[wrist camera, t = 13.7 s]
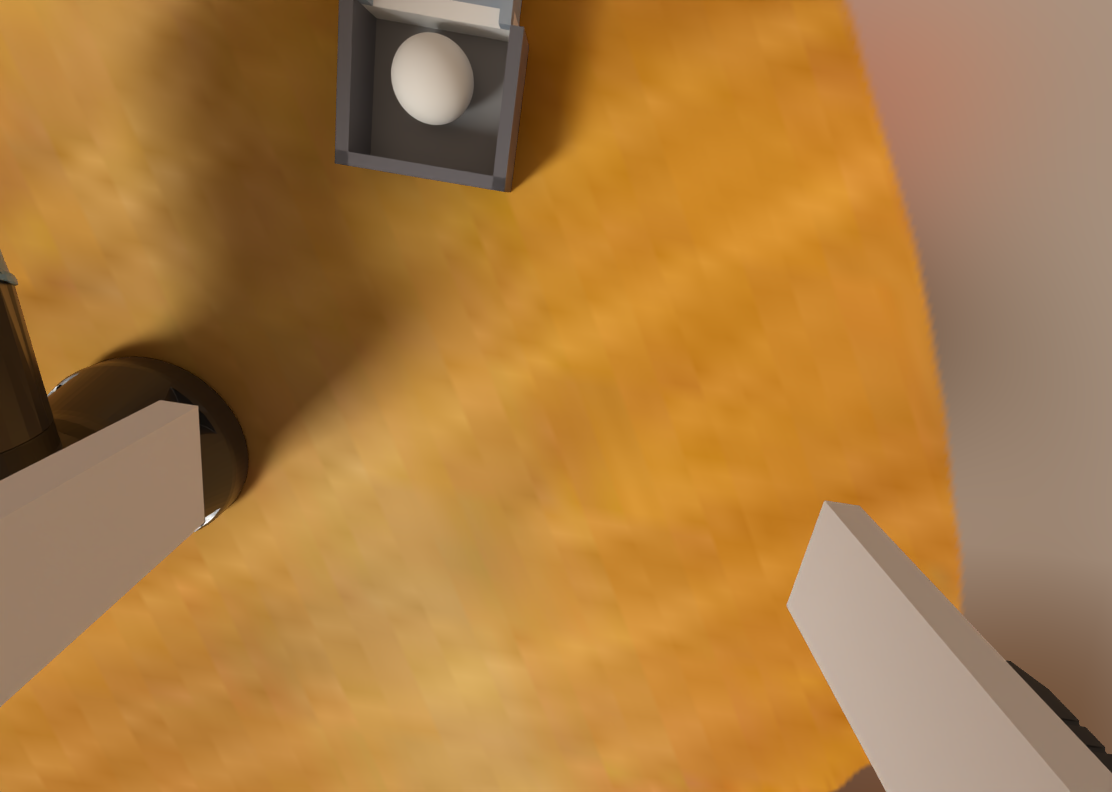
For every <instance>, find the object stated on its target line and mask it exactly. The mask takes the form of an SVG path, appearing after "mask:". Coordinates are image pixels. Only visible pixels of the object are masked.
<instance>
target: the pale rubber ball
mask: <svg viewBox="0 0 1112 792" xmlns="http://www.w3.org/2000/svg"><path fill="white" fill-rule="evenodd" d="M391 81H392V86H393V90H394V93H395V95H396V97H397V99H398V101H399V103H400V104H401V106H402V107H403V108H404V109H405V110H406V112H407V113H409V114H410V115H411V116H412V117H414V118H415V119H417V120H419V121H421V122H423V123H426V124H431V125H443V124H447V123H450V122H452V121H454V120H456V119H457V118H458V117H460V116H461V115H462V114H463V113H464V112H465V110H466V109H467V107H468V105H469V104H470V101H471V99H472V95H473V90H474V77H473V71H472V68H471V65H470V62H469V60H468V58H467V56H466V55H465V53H464V52H463V50H462V49H461V48H460V47H459V46H458V45H457V44H456V43H455V42H454V41H452V40H451V39H449V38H448V37H446V36H444V35H441V34H438V33H432V32H424V33H419V34H416V35H413V36H411V37H410V38H408V39H407V40H406V41H404V42H403V43H402V44H401V46H400V47H399V48H398V50H397V52H396V54H395V56H394V58H393V62H392V67H391Z"/></svg>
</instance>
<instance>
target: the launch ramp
mask: <svg viewBox="0 0 1112 792" xmlns="http://www.w3.org/2000/svg"><path fill="white" fill-rule="evenodd" d="M358 1H359V2H360V3H361V4H362V5H363V6H364V7H365V8H366V9H367V10H368V11H369V12H370V13H371V14H373V15H374V16H375V17H376V18H378V19H383V20H389V21H395V22H400V23H406V24H411V25H417V26H423V27H428V28H434V29H440V30H445V31H451V32H456V33H462V34H468V35H473V36H479V37H485V38H490V39H496V40H501V41H507V42H508V41H509V32H510V25H515V26H519V21H520V13H521V4H522V0H358Z"/></svg>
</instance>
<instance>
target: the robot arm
mask: <svg viewBox="0 0 1112 792" xmlns="http://www.w3.org/2000/svg"><path fill="white" fill-rule="evenodd" d="M16 285H18V282H17V279H16V278H15V276H14V275H13V274H11V273H10V272H9V270H8V268H7V265H6V263H5V261H4V258H3V255H2V253H1V250H0V707H1V706H2V705H3V704H4V703H5V702H6V701H7V700H8V699H9V698H11V697H12V696H13V695H14V694H15V693H16V692H17V691H18V690H19V689H21V688H22V687H23V686H24V685H25V684H26V683H27V682H28V681H29V680H31V679H32V678H33V677H34V676H35V675H36V674H37V673H38V672H39V671H40V670H42V669H43V668H44V667H45V666H46V665H47V664H48V663H49V662H50V661H52V660H53V659H54V658H55V657H56V656H57V655H58V654H59V653H60V652H61V651H63V650H64V649H65V648H66V647H67V646H68V645H69V644H70V643H71V642H73V641H74V640H75V639H76V638H77V637H78V636H79V635H80V634H81V633H83V632H84V631H85V630H86V629H87V628H88V627H89V626H90V625H91V624H92V623H94V622H95V621H96V620H97V619H98V618H99V617H100V616H101V615H102V614H104V613H105V612H106V611H107V610H108V609H109V608H110V607H111V606H112V605H114V604H115V603H116V602H117V601H118V600H119V599H120V598H121V597H122V596H123V595H125V594H126V593H127V592H128V591H129V590H130V589H131V588H132V587H133V586H135V585H136V584H137V583H138V582H139V581H140V580H141V579H142V578H143V577H144V576H146V575H147V574H148V573H149V572H150V571H151V570H152V569H153V568H154V567H156V566H157V565H158V564H159V563H160V562H161V561H162V560H163V559H164V558H166V557H167V556H168V555H169V554H170V553H171V552H172V551H173V550H174V549H175V548H177V547H178V546H179V545H180V544H181V543H182V542H183V541H184V540H185V539H187V538H188V537H189V536H190V535H191V534H192V533H193V532H196V531H198V530H200V529H202V528H203V527H205V526H206V525H208V524H210V523H211V522H212V521H214V520H215V519H216V518H217V517H218V516H219V515H220V514H221V513H222V512H224V511H225V510H226V509H227V508H228V507H229V506H230V505H231V504H232V503H233V502H234V501H235V499H236V498H237V497H238V495H239V493H240V492H241V490H242V488H243V485H244V483H245V479H246V476H247V470H248V452H247V446H246V441H245V438H244V435H243V432H242V430H241V427H240V425H239V423H238V421H237V419H236V417H235V416H234V414H233V413H232V411H231V410H230V408H229V407H228V406H227V404H226V403H225V402H224V401H223V399H222V398H221V397H220V396H219V395H218V394H217V393H216V392H215V391H214V390H213V389H212V388H211V387H209V386H208V385H207V384H206V383H204V382H203V381H202V380H200V379H199V378H197V377H196V376H194V375H193V374H191V373H189V372H187V371H186V370H184V369H182V368H179V367H177V366H175V365H172V364H170V363H167V362H164V361H160V360H156V359H151V358H145V357H120V358H114V359H110V360H106V361H103V362H101V363H98V364H95V365H92V366H90V367H87V368H84V369H81V370H79V371H77V372H75V373H73V374H72V375H70V376H68V377H67V378H65V379H64V380H62V381H61V382H60V383H59V384H58V385H57V386H56V387H55V388H54V389H53V390H52V391H51V392H50V393H49V394H48V396H47V394H46V391H45V388H44V384H43V381H42V378H41V374H40V371H39V368H38V364H37V361H36V357H35V354H34V350H33V347H32V344H31V340H30V337H29V333H28V330H27V326H26V323H25V320H24V316H23V313H22V309H21V306H20V302H19V299H18V296H17V292H16V289H15V286H16ZM787 608H788V609H789V611H790V613H791V615H792V617H793V619H794V621H795V623H796V624H797V626H798V628H799V630H800V632H801V634H802V636H803V637H804V639H805V641H806V643H807V645H808V647H809V649H810V650H811V652H812V654H813V656H814V658H815V660H816V662H817V664H818V665H819V667H820V669H821V671H822V673H823V675H824V677H825V678H826V680H827V682H828V684H829V686H830V688H831V690H832V691H833V693H834V695H835V697H836V699H837V701H838V703H839V705H840V706H841V708H842V710H843V712H844V714H845V716H846V718H847V719H848V721H849V723H850V725H851V727H852V729H853V731H854V732H855V734H856V736H857V738H858V740H859V742H860V744H861V746H862V747H863V749H864V751H865V753H866V755H867V757H868V759H869V760H870V762H871V764H872V766H873V768H874V770H875V771H876V773H877V775H878V777H879V779H880V781H881V783H882V785H883V787H884V788H885V790H886V792H1112V754H1107V753H1106V752H1105V747H1104V746H1103V745H1102V744H1101V743H1100V742H1099V741H1098V740H1097V739H1096V737H1095V736H1094V735H1093V734H1092V733H1091V732H1089V730H1088V729H1087V728H1086V727H1081V726H1080V725H1079V720H1078V719H1077V718H1076V717H1075V716H1074V715H1073V714H1072V713H1071V712H1070V711H1069V710H1068V709H1067V708H1066V707H1065V706H1064V705H1063V704H1062V703H1061V702H1060V701H1059V700H1058V699H1057V698H1056V697H1055V696H1054V694H1053V693H1052V692H1051V691H1050V690H1049V689H1047V688H1046V687H1045V686H1043V685H1042V684H1041V683H1039V682H1038V681H1036V680H1035V679H1034V678H1033V677H1031V676H1030V675H1028V674H1027V673H1026V672H1024V671H1023V670H1022V669H1020V668H1019V667H1018V666H1016V665H1015V664H1014V663H1012V662H1011V661H1005V660H1004V658H1003V657H1002V656H1001V655H1000V654H999V653H998V652H997V651H996V650H995V649H994V648H993V647H992V646H991V645H990V644H989V643H988V642H987V640H986V639H985V638H984V637H983V636H982V635H981V634H980V633H979V632H978V631H977V630H976V629H975V628H974V627H973V626H972V625H971V624H970V622H969V621H968V620H967V619H966V618H965V617H964V616H963V615H962V614H961V613H960V612H959V611H958V610H957V609H956V608H955V607H954V605H953V604H952V603H951V602H950V601H949V600H948V599H947V598H946V597H945V596H944V595H943V594H942V593H941V592H940V591H939V590H938V589H937V587H936V586H935V585H934V584H933V583H932V582H931V581H930V580H929V579H928V578H927V577H926V576H925V575H924V574H923V573H922V572H921V571H920V569H919V568H918V567H917V566H916V565H915V564H914V563H913V562H912V561H911V560H910V559H909V558H908V557H907V556H906V555H905V554H904V553H903V551H902V550H901V549H900V548H899V547H898V546H897V545H896V544H895V543H894V542H893V541H892V540H891V539H890V538H889V537H888V536H887V535H886V533H885V532H884V531H883V530H882V529H881V528H880V527H879V526H878V525H877V524H876V523H875V522H874V521H873V520H872V519H871V518H870V517H869V515H868V514H867V513H866V512H865V511H864V510H863V509H862V508H861V507H860V506H857V505H851V504H844V503H837V502H831V501H824V503H823V506H822V509H821V511H820V514H819V517H818V520H817V522H816V525H815V528H814V531H813V534H812V536H811V539H810V542H809V545H808V547H807V550H806V553H805V556H804V558H803V561H802V564H801V567H800V570H799V572H798V575H797V578H796V581H795V583H794V586H793V589H792V592H791V595H790V597H789V600H788V603H787Z"/></svg>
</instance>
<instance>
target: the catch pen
mask: <svg viewBox="0 0 1112 792" xmlns="http://www.w3.org/2000/svg"><path fill="white" fill-rule="evenodd" d="M424 32H432V33H438V34H441V35H444V36H446V37H448V38H449V39H451V40H452V41H454V42H455V43H456V44H457V45H458V46H459V47H460V48H461V49H462V50H463V52H464V53H465V55H466V56H467V58H468V60H469V62H470V65H471V68H472V71H473V77H474V90H473V95H472V99H471V101H470V104H469V105H468V107H467V109H466V110H465V112H464V113H463V114H462V115H461V116H460V117H458V118H457V119H456V120H454V121H452V122H450V123H447V124H443V125H431V124H426V123H423V122H421V121H419V120H417V119H415V118H414V117H412V116H411V115H410V114H409V113H407V112H406V110H405V109H404V108H403V107H402V106H401V104H400V103H399V101H398V99H397V97H396V95H395V93H394V90H393V86H392V81H391V67H392V62H393V58H394V56H395V54H396V52H397V50H398V48H399V47H400V46H401V44H402V43H403V42H404V41H406V40H407V39H408V38H410V37H411V36H413V35H416V34H419V33H424ZM528 51H529V44H528V41H527V37H526V33H525V29H524V27H521V26H515V25H510V32H509V41H508V42H507V41H501V40H496V39H490V38H485V37H479V36H473V35H468V34H462V33H456V32H451V31H445V30H440V29H434V28H428V27H423V26H417V25H411V24H406V23H400V22H395V21H389V20H383V19H378V18H376V17H375V16H374V15H373V14H371V13H370V12H369V11H368V10H367V9H366V8H365V7H364V6H363V5H362V4H361V3H360V2H359V1H358V0H339V20H338V59H337V98H336V137H335V163H336V164H342V165H348V166H354V167H360V168H366V169H372V170H378V171H384V172H390V173H396V174H402V175H408V176H414V177H420V178H425V179H431V180H437V181H443V182H449V183H455V184H461V185H467V186H473V187H479V188H485V189H491V190H497V191H503V192H511V187H512V179H513V171H514V163H515V155H516V147H517V139H518V131H519V123H520V115H521V107H522V99H523V91H524V83H525V75H526V67H527V59H528Z"/></svg>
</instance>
